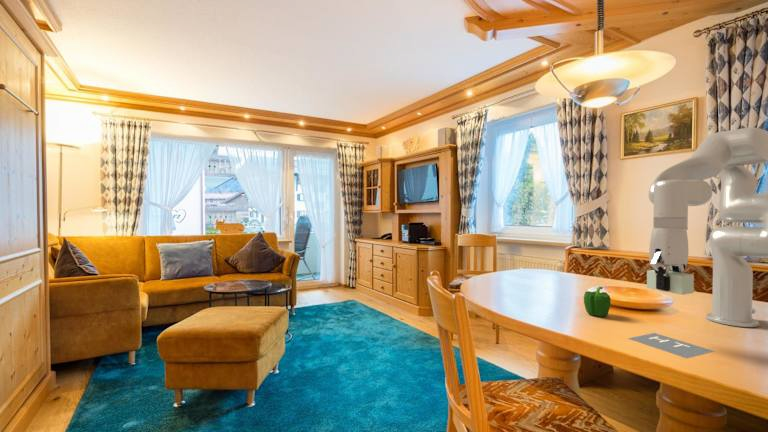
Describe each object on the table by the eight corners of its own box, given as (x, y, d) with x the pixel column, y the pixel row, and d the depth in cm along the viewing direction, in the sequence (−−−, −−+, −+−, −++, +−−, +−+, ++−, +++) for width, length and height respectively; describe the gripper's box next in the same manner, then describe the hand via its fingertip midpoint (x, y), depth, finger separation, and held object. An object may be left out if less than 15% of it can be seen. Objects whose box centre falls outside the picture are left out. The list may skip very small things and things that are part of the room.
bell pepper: (596, 319, 123) (596, 290, 122) (578, 312, 131) (579, 285, 131) (617, 317, 124) (617, 289, 124) (598, 311, 132) (599, 284, 132)
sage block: (658, 286, 106) (658, 269, 106) (693, 292, 98) (693, 274, 98) (646, 287, 104) (646, 270, 104) (682, 294, 96) (682, 276, 96)
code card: (654, 333, 109) (654, 332, 109) (715, 351, 95) (715, 351, 95) (627, 339, 105) (627, 338, 105) (686, 359, 91) (686, 358, 91)
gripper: (674, 223, 107) (673, 283, 108) (635, 224, 101) (635, 289, 101) (704, 224, 100) (703, 289, 101) (665, 225, 94) (664, 295, 94)
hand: (669, 288), depth 101 cm, fingers closed on sage block, 5 cm apart
